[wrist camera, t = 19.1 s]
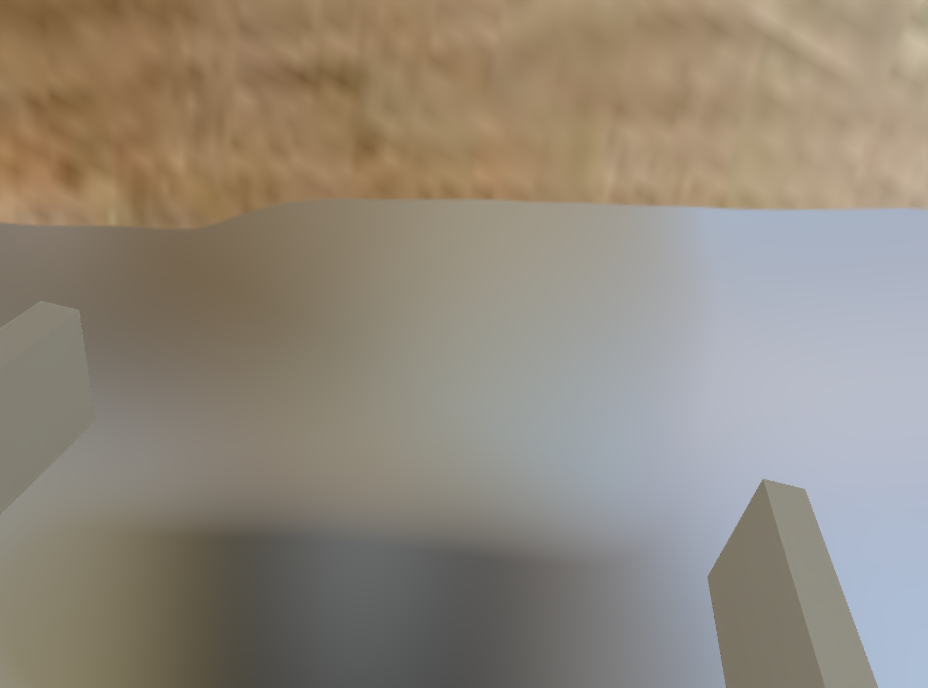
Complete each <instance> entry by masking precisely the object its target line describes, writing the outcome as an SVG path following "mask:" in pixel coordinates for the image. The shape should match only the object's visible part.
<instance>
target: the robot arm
mask: <svg viewBox="0 0 928 688" xmlns="http://www.w3.org/2000/svg"><path fill="white" fill-rule="evenodd" d="M95 421H96V419H95V413H94V406H93V399H92V393H91V386H90V380H89V373H88V366H87V359H86V353H85V346H84V339H83V332H82V326H81V319H80V313H79V310H77V309H73V308H69V307H65V306H61V305H57V304H53V303H48V302H45V301H40V302H39V303H37V304H35V305H34V306H33V307H31V308H29V309H28V310H26V311H25V312H23V313H22V314H20V315H19V316H18V317H16V318H15V319H13V320H11V321H10V322H8V323H7V324H6V325H4V326H3V327H1V328H0V514H1V513H2V512H3V511H4V510H5V509H6V508H7V507H8V506H9V505H10V504H11V503H12V502H13V501H14V500H15V499H16V498H17V497H19V496H20V495H21V493H23V492H24V491H25V490H26V489H27V488H28V487H29V486H30V485H31V484H32V483H33V482H34V481H35V480H36V479H37V478H38V477H39V476H40V475H41V474H42V473H43V472H44V471H45V470H46V469H47V468H48V467H49V466H50V465H51V464H52V463H53V462H54V461H55V460H56V459H57V458H58V457H59V456H60V455H61V454H62V453H63V452H64V451H65V450H66V449H68V447H70V446H71V445H72V444H73V443H74V442H75V441H76V440H77V439H78V438H79V437H80V436H81V435H82V434H83V433H84V432H85V431H86V430H87V429H88V428H89V427H90V426H91V425H92V424H93V423H94V422H95ZM708 582H709V588H710V594H711V600H712V605H713V612H714V618H715V624H716V630H717V636H718V642H719V648H720V654H721V660H722V666H723V672H724V678H725V684H726V688H878V686H877V683H876V681H875V678H874V675H873V673H872V670H871V667H870V664H869V662H868V659H867V656H866V653H865V651H864V648H863V645H862V643H861V640H860V637H859V634H858V632H857V629H856V626H855V624H854V621H853V618H852V616H851V613H850V610H849V607H848V605H847V602H846V599H845V596H844V594H843V591H842V588H841V586H840V583H839V580H838V577H837V575H836V572H835V569H834V567H833V564H832V561H831V558H830V556H829V553H828V550H827V548H826V545H825V542H824V539H823V537H822V534H821V531H820V529H819V526H818V523H817V520H816V518H815V515H814V512H813V510H812V507H811V504H810V502H809V498H808V496H807V493H806V490H805V489H802V488H798V487H794V486H790V485H786V484H782V483H778V482H774V481H769V480H766V479H763V480H762V482H761V483H760V485H759V487H758V489H757V490H756V492H755V494H754V496H753V497H752V499H751V501H750V503H749V505H748V506H747V508H746V510H745V512H744V513H743V515H742V517H741V519H740V520H739V522H738V524H737V526H736V527H735V529H734V531H733V533H732V535H731V537H730V538H729V540H728V542H727V544H726V545H725V547H724V549H723V551H722V552H721V554H720V556H719V558H718V559H717V561H716V563H715V565H714V567H713V568H712V570H711V572H710V573H709V575H708Z"/></svg>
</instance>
